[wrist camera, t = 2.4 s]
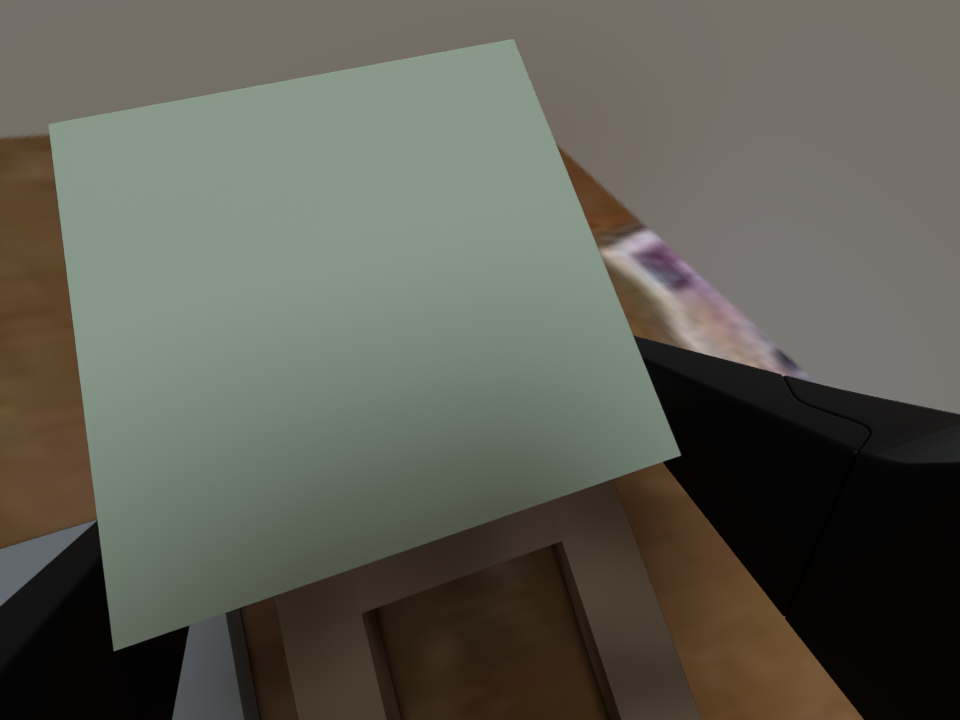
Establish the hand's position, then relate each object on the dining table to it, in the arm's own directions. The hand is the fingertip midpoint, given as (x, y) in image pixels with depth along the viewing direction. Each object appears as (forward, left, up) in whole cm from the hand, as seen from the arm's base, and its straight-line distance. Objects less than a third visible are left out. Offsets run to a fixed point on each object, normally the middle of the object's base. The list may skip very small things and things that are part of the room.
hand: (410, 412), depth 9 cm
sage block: (+1, 0, -9) cm, 9 cm away
